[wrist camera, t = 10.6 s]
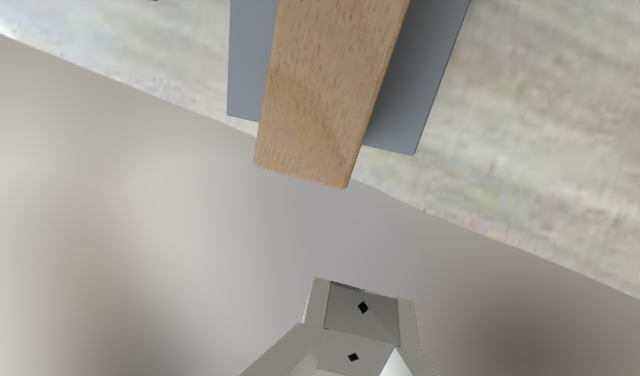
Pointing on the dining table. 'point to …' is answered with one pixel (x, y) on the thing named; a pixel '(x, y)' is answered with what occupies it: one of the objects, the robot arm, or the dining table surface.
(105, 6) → the dining table surface
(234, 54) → the felt mat
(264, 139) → the wooden block
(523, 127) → the dining table surface
